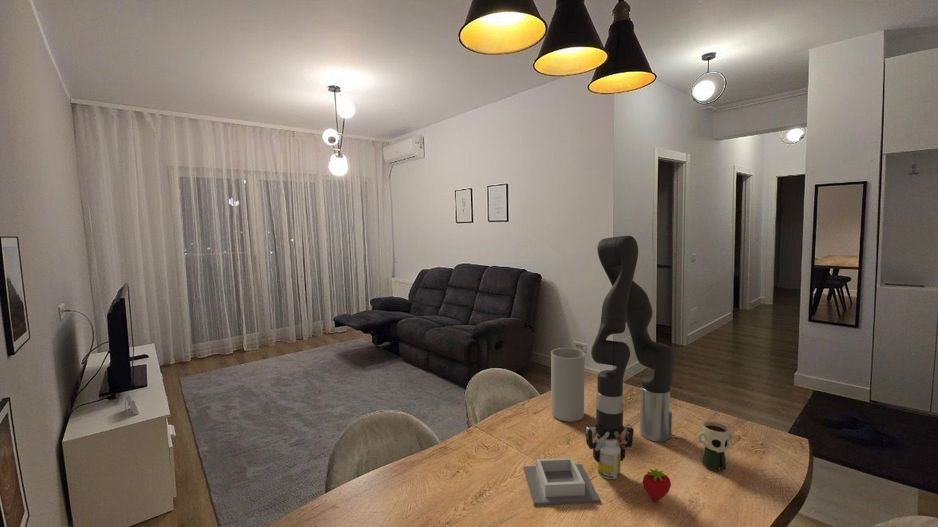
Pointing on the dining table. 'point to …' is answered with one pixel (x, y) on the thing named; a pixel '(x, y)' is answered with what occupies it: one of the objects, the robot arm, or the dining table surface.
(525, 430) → the dining table surface
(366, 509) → the dining table surface
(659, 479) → the strawberry
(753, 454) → the dining table surface
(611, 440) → the pill bottle
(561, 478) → the bottle holder
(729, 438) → the character mug
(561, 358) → the cylinder vase
